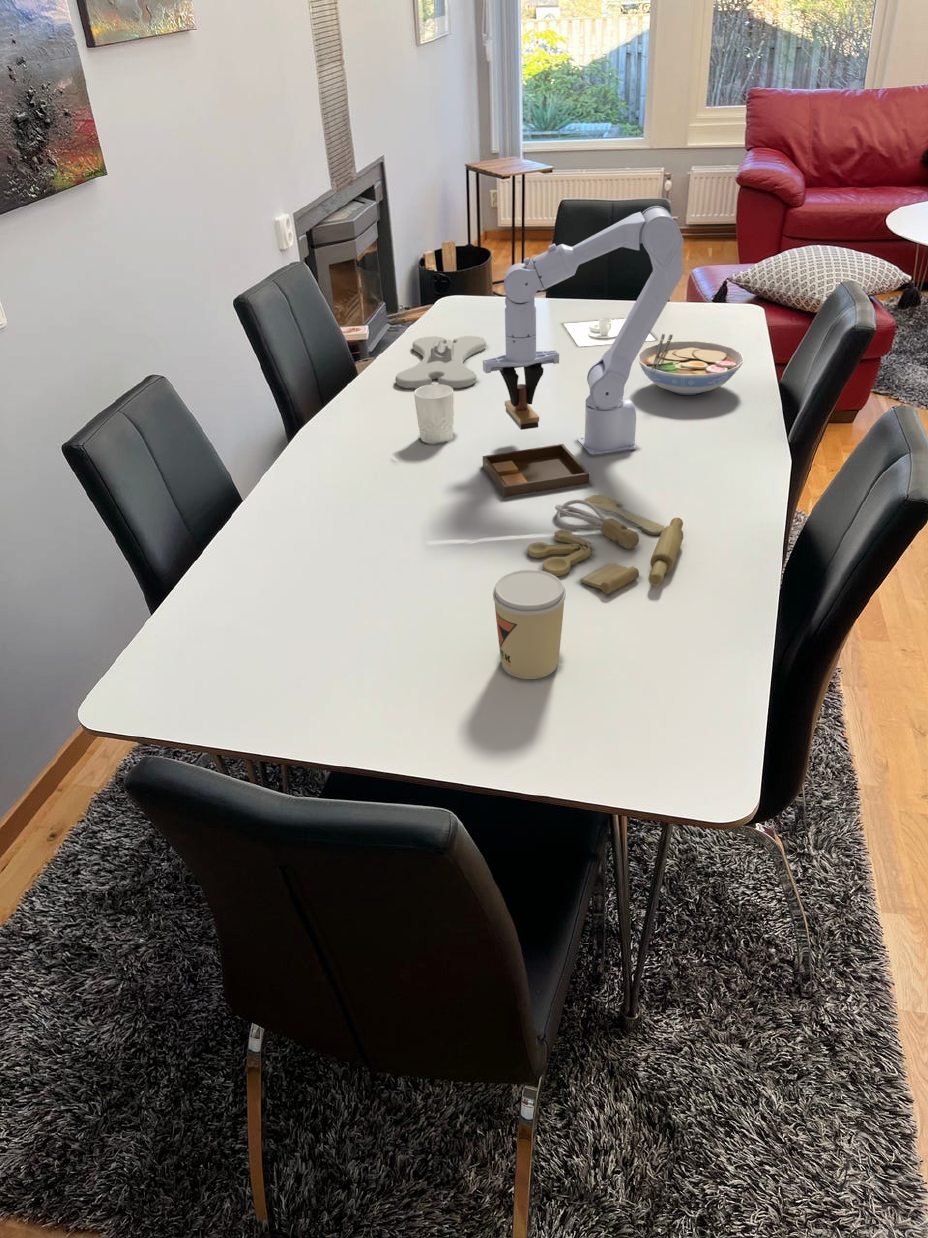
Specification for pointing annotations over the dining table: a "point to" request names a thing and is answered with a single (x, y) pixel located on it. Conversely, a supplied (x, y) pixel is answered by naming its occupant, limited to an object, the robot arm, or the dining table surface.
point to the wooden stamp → (522, 410)
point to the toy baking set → (613, 574)
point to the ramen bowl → (689, 365)
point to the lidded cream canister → (529, 622)
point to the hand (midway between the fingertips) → (521, 403)
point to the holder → (442, 362)
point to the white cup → (435, 412)
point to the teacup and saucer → (597, 332)
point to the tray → (539, 470)
